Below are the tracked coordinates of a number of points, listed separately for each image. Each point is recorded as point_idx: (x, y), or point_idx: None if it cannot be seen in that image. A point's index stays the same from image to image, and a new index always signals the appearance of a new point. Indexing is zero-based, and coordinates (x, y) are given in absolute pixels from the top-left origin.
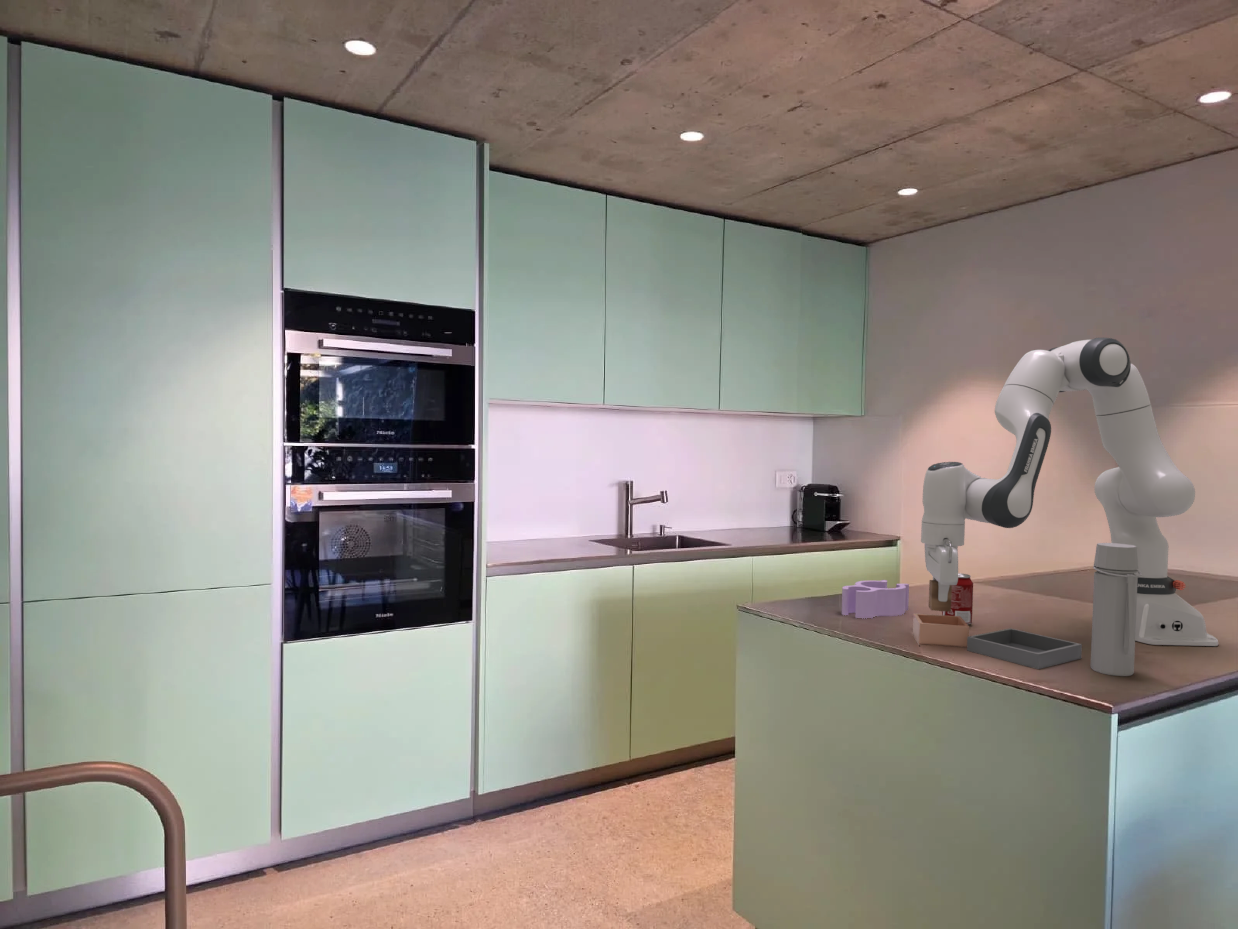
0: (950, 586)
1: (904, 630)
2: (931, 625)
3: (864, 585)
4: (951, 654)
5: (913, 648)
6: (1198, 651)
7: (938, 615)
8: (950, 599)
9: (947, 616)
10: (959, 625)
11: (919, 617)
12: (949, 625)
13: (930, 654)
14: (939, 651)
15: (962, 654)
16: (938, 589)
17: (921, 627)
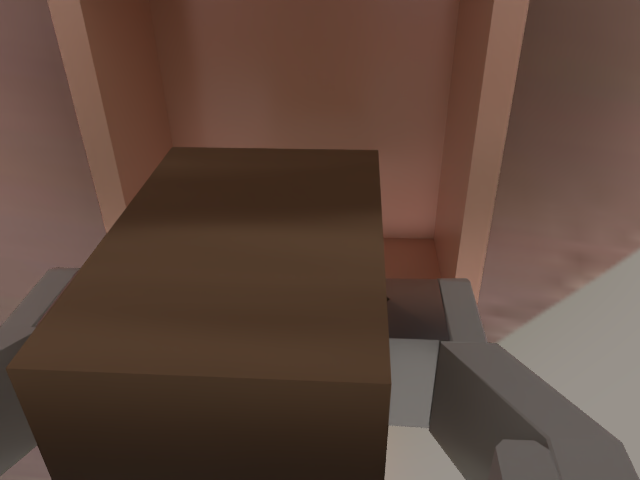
0: (387, 367)
1: (67, 262)
2: (480, 262)
3: None
4: (626, 84)
5: (495, 274)
6: None
7: (107, 163)
8: (379, 227)
9: (99, 87)
10: (497, 44)
11: None
12: (504, 138)
13: (628, 210)
14: (550, 147)
15: (624, 4)
16: (471, 477)
17: None
